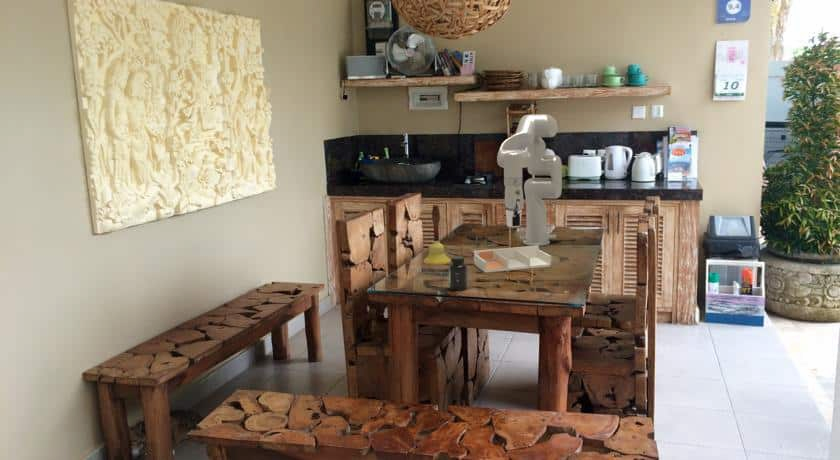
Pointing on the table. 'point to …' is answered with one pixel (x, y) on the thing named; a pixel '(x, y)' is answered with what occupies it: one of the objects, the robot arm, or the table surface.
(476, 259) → the rack
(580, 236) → the table surface
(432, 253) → the handbell
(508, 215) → the white and grey cylinder
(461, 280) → the supplement bottle
